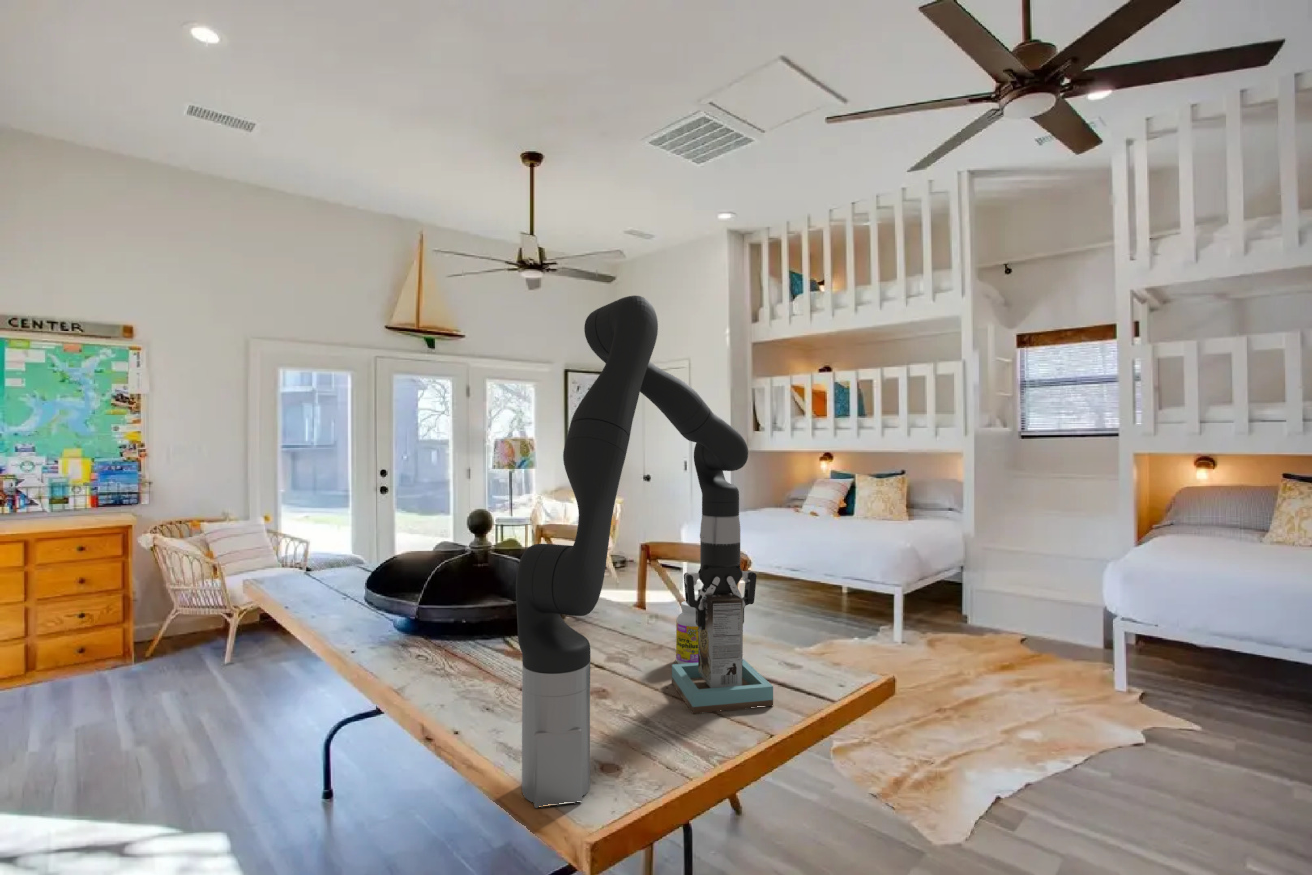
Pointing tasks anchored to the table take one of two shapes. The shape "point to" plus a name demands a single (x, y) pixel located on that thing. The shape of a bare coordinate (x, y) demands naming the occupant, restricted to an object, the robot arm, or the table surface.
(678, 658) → the supplement bottle
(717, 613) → the coffee box
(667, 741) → the table surface
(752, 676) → the teal square tray
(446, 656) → the table surface
